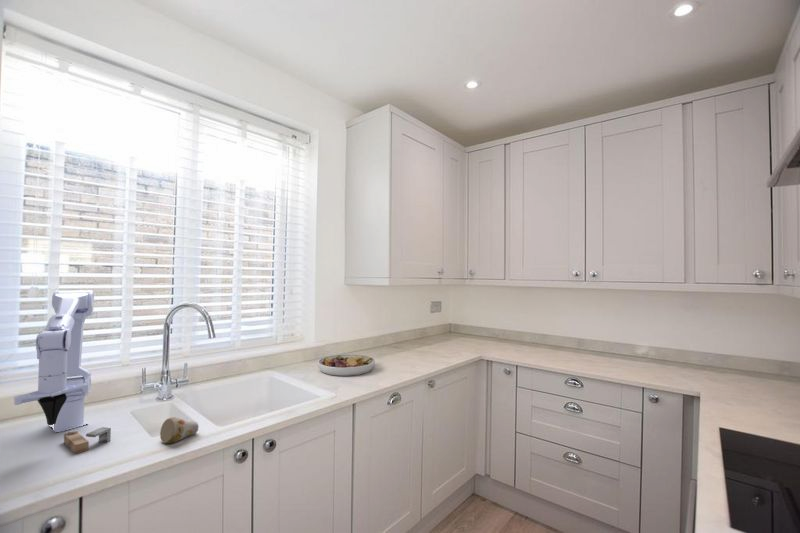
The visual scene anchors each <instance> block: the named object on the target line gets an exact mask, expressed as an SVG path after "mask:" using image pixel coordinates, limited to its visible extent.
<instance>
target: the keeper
mask: <svg viewBox="0 0 800 533" xmlns="http://www.w3.org/2000/svg"><path fill="white" fill-rule="evenodd" d="M111 430H112V429H111V427H106V426H105V427H104V426H102V427H99V428H96V429H94V430H92V431H90V432H87V433H86V434H85V437H88V438H96V437H98V442H103V443H108V442H110V441H111V437H112V436H111V433H112V432H111Z"/></svg>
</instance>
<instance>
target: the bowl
mask: <svg viewBox="0 0 800 533" xmlns="http://www.w3.org/2000/svg"><path fill="white" fill-rule="evenodd" d="M375 365H376V359H375V358H373V357H371V356H368V355H362V354H335V355H329V356H325V357H322V358H320V359H318V360H317V368H318V369H319V370H320V371H321V372H322V373H323V374H326V375H330V376H335V377H353V376H359V375H364V374H367V373H369V372H371V371H372V370H373V369H374V368H375Z"/></svg>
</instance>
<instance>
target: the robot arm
mask: <svg viewBox="0 0 800 533" xmlns="http://www.w3.org/2000/svg"><path fill="white" fill-rule="evenodd" d="M94 303H95V293H94V291H93V290H92V289H89V290H59V289H58V290H55V291H54V292H53V293H52V297H51V306H52V308H53V310H54V312H55V314H54V315H51V317H50V318H49V319H48V322H47V324H46V326H45V328H44V329H43V331H42V332H41V333H37V335H36V339H35V350H36V358H37V360H38V375H37V376H38V380H37V385H38V386H37V390H36V391H32V392H28V393H25V394H20V395H15V396H13V404H14V405H15V406H19V405H22V404H25V403H31V402H35V401H37V402H38V404H39V405H40V407H41V408H42V410H43V414H44V415H45V418H46V424H47V425H48V426H49V425H53V424H54V430H53V432H54V433H56V432H59V433H61V432H60V431H62V432H65V430H66V431H70V430H73V429H72V428H74V429H77V428H76V427H78V428H80V427H79V426H82V425H86V424H88V425H89V422H88V421H86V422H84V420H85V397H86V396H88V395H89V394H90V393H91V388H92V378H91V374H92V373H91V372H90V371H89V370H88V369H86V368H84V367H82V354H83V353H82V350H83V339H84V338H83V336H84V324H85V321H86V318H87V317H90V316H92V315H93V311H94V306H95V304H94ZM85 423H86V424H85ZM86 426H87V425H86ZM82 427H83V426H82ZM69 429H70V430H69Z"/></svg>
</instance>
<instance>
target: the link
mask: <svg viewBox="0 0 800 533" xmlns="http://www.w3.org/2000/svg"><path fill="white" fill-rule="evenodd" d="M63 444H64V445H66V447H67V448H69V449H70V450H71V451H72V452H73V453H74V454H75V455H77V454H80V453H83V452H87V451H89V445H90V444H89V440H88V439H86V438H85V437H84V436H83V435H81V433H80V432H78V431H75V430H74V429H70V430H67V432H65V433H64V434H63Z"/></svg>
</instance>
